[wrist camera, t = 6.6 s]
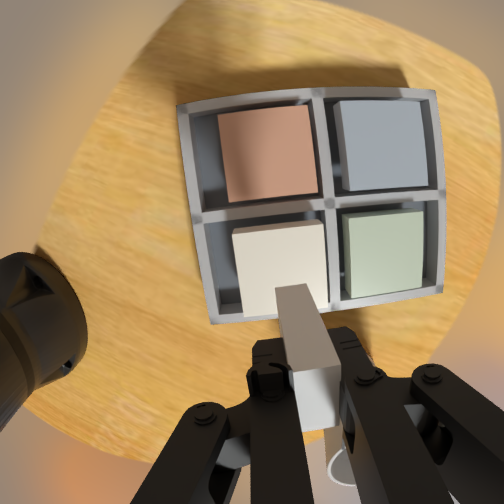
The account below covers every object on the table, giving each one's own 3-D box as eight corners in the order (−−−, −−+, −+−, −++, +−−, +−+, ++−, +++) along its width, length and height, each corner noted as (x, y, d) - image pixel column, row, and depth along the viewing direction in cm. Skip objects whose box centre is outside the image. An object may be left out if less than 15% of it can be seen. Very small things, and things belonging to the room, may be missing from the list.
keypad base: (216, 304, 29) (210, 324, 25) (188, 113, 25) (176, 105, 21) (423, 277, 28) (442, 292, 24) (414, 97, 24) (435, 90, 20)
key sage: (345, 288, 25) (351, 298, 23) (341, 214, 23) (348, 218, 21) (411, 278, 25) (421, 287, 23) (411, 207, 23) (423, 211, 21)
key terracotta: (231, 199, 23) (229, 202, 21) (221, 119, 22) (217, 114, 20) (313, 190, 23) (318, 192, 21) (303, 109, 21) (307, 105, 19)
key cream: (245, 305, 24) (244, 317, 23) (234, 228, 23) (231, 234, 21) (323, 296, 24) (328, 307, 22) (317, 219, 23) (323, 224, 21)
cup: (293, 376, 31) (306, 467, 20) (355, 329, 30) (397, 411, 18) (338, 412, 33) (359, 494, 21) (394, 371, 31) (436, 447, 19)
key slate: (342, 188, 22) (350, 191, 20) (333, 106, 20) (339, 100, 18) (415, 183, 22) (428, 185, 20) (407, 105, 20) (419, 101, 18)
